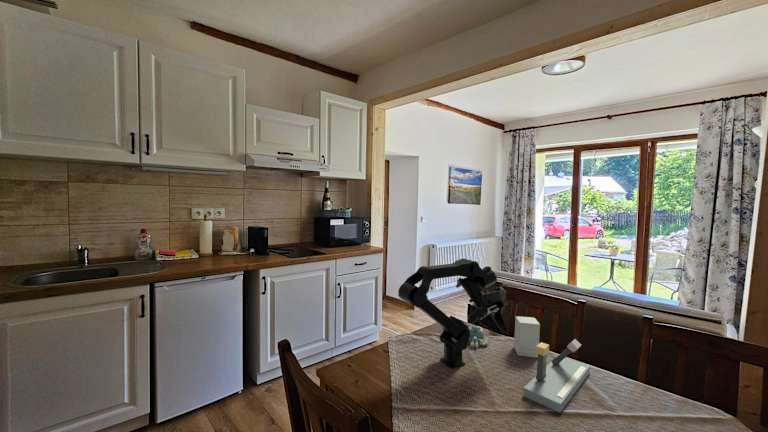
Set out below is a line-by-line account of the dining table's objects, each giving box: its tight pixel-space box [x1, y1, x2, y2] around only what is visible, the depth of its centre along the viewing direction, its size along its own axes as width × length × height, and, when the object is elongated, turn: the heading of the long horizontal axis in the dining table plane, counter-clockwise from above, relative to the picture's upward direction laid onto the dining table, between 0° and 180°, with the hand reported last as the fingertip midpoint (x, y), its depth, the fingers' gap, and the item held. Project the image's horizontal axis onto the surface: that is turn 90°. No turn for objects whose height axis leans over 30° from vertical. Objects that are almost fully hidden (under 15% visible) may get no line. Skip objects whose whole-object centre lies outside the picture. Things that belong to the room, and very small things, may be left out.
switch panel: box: [522, 354, 591, 413], centre depth 101 cm, size 10×30×3 cm, turn 134°
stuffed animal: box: [468, 325, 490, 349], centre depth 129 cm, size 11×7×12 cm
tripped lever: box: [535, 341, 550, 382], centre depth 98 cm, size 2×4×11 cm, turn 134°
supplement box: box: [513, 315, 541, 359], centre depth 122 cm, size 7×7×13 cm
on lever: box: [551, 338, 582, 366], centre depth 106 cm, size 2×4×11 cm
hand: (504, 332), depth 106 cm, fingers open, 4 cm apart
